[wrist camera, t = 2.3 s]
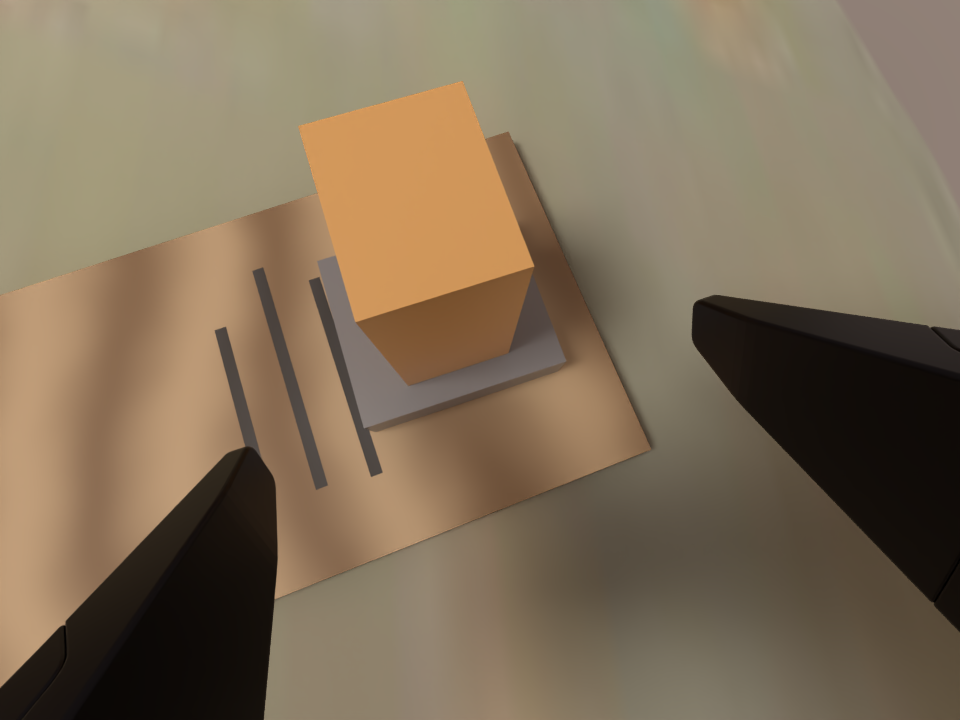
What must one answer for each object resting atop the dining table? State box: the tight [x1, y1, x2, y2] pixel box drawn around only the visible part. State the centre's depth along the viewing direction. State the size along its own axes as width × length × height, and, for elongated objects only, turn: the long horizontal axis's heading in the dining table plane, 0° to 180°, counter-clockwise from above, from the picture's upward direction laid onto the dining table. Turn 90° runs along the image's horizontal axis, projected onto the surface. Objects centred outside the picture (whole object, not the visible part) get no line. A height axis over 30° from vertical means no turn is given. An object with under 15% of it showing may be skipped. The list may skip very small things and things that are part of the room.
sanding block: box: [298, 81, 566, 432], centre depth 15 cm, size 8×7×10 cm
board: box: [0, 132, 651, 687], centre depth 20 cm, size 26×16×1 cm, turn 111°
